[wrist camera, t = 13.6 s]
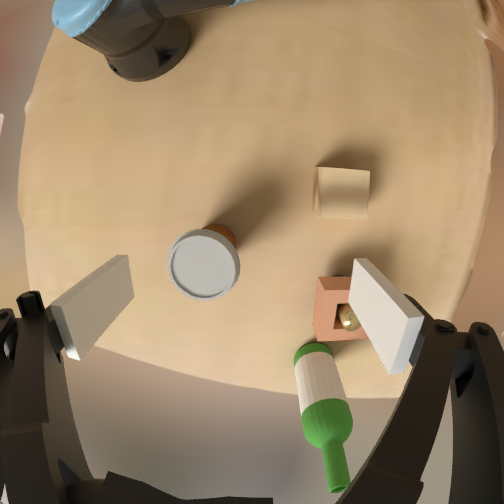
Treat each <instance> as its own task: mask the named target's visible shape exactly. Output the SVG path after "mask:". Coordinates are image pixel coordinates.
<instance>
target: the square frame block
mask: <svg viewBox="0 0 504 504" xmlns="http://www.w3.org/2000/svg"><path fill="white" fill-rule="evenodd" d="M351 279H352V277H318V283H317V293H316V302H315V310H314V319H313V327H314V331H315V334H316V337H317V341H337V340H353V339H366V338H369V337H368V336H367V334H366V332H365V330H364V329H363V327H362V325H361V327H360V328H359V329H357V330H356V331H353V332H349V331H346V330H345V329H344V327H343V325H342V322H341V320H340V318H339V316H338V314H337V313H336V309H337V304H340V303H348V299H349V292H350V286H351Z"/></svg>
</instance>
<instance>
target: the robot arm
mask: <svg viewBox="0 0 504 504" xmlns="http://www.w3.org/2000/svg"><path fill="white" fill-rule="evenodd" d="M254 1H258V0H56V1H55V4H54V7H53V10H52V20H53V23H54V24H55V26H56V27H57V28H59V29H60V30H62V31H63V32H65V33H66V35H67V36H69V37H72V38H74V39H76V40H78V41H80V42H82V43H84V44H86V45H87V46H89V47H91V48H93V49H95V50H97V51H99V52H100V53H102V54H104V56H105V58H106V60H107V62H108V64H109V66H110V68H111V69H112V71H113V72H114V73H116V74H117V75H118V76H120V77H122V78H124V79H126V80H129V81H134V82H141V81H147V80H151V79H154V78H156V77H159V76H161V75H163V74H164V73H166V72H168V71H169V70H170V69H172V68H173V67H174V66H175V65H176V64H177V63H178V62H179V61H180V60H181V59H182V57H183V56H184V54H185V53H186V51H187V49H188V47H189V44H190V39H191V32H190V28H189V26H188V24H187V22H186V20H185V19H184V18H183V16H182V15H186V14H190V13H194V12H199V11H203V10H208V9H213V8H218V7H224V6H229V7H231V6H235V5H237V4H241V3H247V2H254ZM133 298H134V291H133V286H132V280H131V273H130V267H129V260H128V255H116V256H115V257H113V258H112V259H111V260H109V261H108V262H106V263H105V264H103V265H102V266H101V267H99V268H98V269H96V270H95V271H94V272H92V273H91V274H89V275H88V276H87V277H85V278H84V279H82V280H81V281H80V282H78V283H77V284H76V285H74V286H73V287H72V288H70V289H69V290H68V291H66V292H65V293H64V294H62V295H61V296H60V297H59V298H57V299H56V300H55V301H53V302H52V303H51V304H50V306H48V307H47V308H46V309H45V308H44V305H43V302H42V298H41V295H40V292H39V291H29V292H26V293H23V294H21V295H20V296H19V297H18V298H17V299H16V301H17V304H18V307H19V310H20V313H21V315H22V318H15V315H14V313H13V310H12V309H10V308H7V309H1V310H0V501H1V497H2V494H3V489H4V484H5V485H6V492H7V497H8V502H9V504H273V498H248V497H230V496H228V497H219V498H210V499H194V500H183V499H179V498H176V497H174V496H172V495H170V494H167V493H165V492H163V491H161V490H159V489H156V488H154V487H152V486H150V485H148V484H146V483H144V482H142V481H138V480H134V479H131V478H128V477H125V476H121V475H118V474H115V473H113V472H110V471H108V473H107V475H106V478H105V479H94V477H93V476H92V474H91V472H90V470H89V468H88V465H87V462H86V460H85V456H84V453H83V450H82V447H81V444H80V441H79V437H78V433H77V429H76V426H75V422H74V418H73V413H72V409H71V404H70V399H69V395H68V389H67V383H66V377H65V370H64V363H63V357H62V355H61V352H60V351H61V350H62V349H63V347H65V350H66V352H67V355H68V357H69V358H73V359H77V360H81V359H82V358H83V357H84V356H85V354H86V353H87V352H88V351H89V349H90V348H91V347H92V346H93V345H94V343H95V342H96V341H97V340H98V338H99V337H100V336H101V335H102V334H103V333H104V331H105V330H106V329H107V328H108V327H109V325H110V324H111V323H112V322H113V321H114V320H115V318H116V317H117V316H118V315H119V314H120V313H121V312H122V310H123V309H124V308H125V307H126V306H127V305H128V304H129V302H130V301H131V300H132V299H133ZM348 303H349V304H350V306H351V308H352V309H353V311H354V313H355V315H356V316H357V318H358V320H359V322H360V323H361V325H362V327H363V329H364V330H365V332H366V334H367V336H368V337H369V339H370V341H371V343H372V345H373V346H374V348H375V350H376V352H377V354H378V356H379V357H380V359H381V361H382V363H383V365H384V367H385V369H386V371H387V372H388V374H389V375H394V374H399V373H404V372H405V370H406V367H407V365H408V362H410V364H411V365H412V367H413V368H412V370H411V373H410V375H409V377H408V380H407V382H406V384H405V386H404V389H403V392H402V394H401V396H400V398H399V401H398V403H397V405H396V407H395V409H394V411H393V413H392V415H391V417H390V419H389V421H388V423H387V425H386V427H385V429H384V430H383V433H382V434H381V436H380V438H379V440H378V441H377V443H376V445H375V446H374V448H373V450H372V451H371V453H370V455H369V456H368V458H367V459H366V461H365V463H364V464H363V466H362V467H361V469H360V470H359V472H358V473H357V475H356V476H355V478H354V479H353V480H352V482H351V483H350V485H349V486H348V487H347V489H346V490H345V492H344V493H343V494H342V496H341V497H340V498H339V499H338V501H337V502H336V503H335V504H416V503H417V501H418V499H419V497H420V495H421V492H422V489H423V484H424V483H423V482H421V481H420V479H421V476H422V473H423V471H424V468H425V466H426V463H427V461H428V458H429V455H430V453H431V450H432V447H433V444H434V441H435V438H436V435H437V432H438V429H439V425H440V422H441V418H442V415H443V411H444V406H445V403H446V399H447V394H448V389H449V385H450V390H451V401H452V416H453V465H452V478H451V489H450V496H449V503H448V504H504V351H503V349H502V346H501V344H500V342H499V339H498V337H497V335H496V333H495V331H494V330H493V328H492V327H490V326H489V325H488V324H486V323H481V322H474V323H472V325H471V327H470V329H469V332H468V333H467V332H457V329H456V327H455V326H454V325H453V324H451V323H450V322H448V321H445V320H440V319H435V320H434V319H433V318H432V317H431V316H430V315H429V314H428V313H427V311H426V310H425V309H423V307H422V306H421V305H419V303H418V302H417V301H416V300H415V299H414V298H412V297H410V296H408V295H406V294H403V293H402V292H401V291H400V290H399V289H398V288H397V287H396V286H395V285H394V284H393V283H392V282H391V281H390V280H389V279H387V278H386V277H385V276H384V275H383V274H382V273H381V272H380V271H379V270H378V269H377V268H376V267H375V266H374V265H373V264H372V263H371V262H370V261H369V260H368V259H367V258H354V264H353V272H352V279H351V286H350V292H349V299H348ZM4 348H5V350H6V352H7V354H8V355H7V356H6V354H5V351H4ZM0 504H3V503H2V502H0Z"/></svg>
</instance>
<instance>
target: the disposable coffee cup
mask: <svg viewBox="0 0 504 504" xmlns="http://www.w3.org/2000/svg"><path fill="white" fill-rule="evenodd" d="M167 264H168V272H169V276H170V278H171V280H172V282H173V284H174V285H175V287H176V288H177V289H178V290H179V291H180V292H181V293H183V294H184V295H186V296H188V297H190V298H192V299H196V300H202V301H208V300H214V299H216V298H219V297H221V296H223V295H225V294H227V293H228V292H229V291H230V290H231V289H232V288H233V287H234V286H235V284H236V282H237V280H238V277H239V275H240V260H239V256H238V253H237V251H236V247H235V239H234V236H233V234H232V233H231V231H230V230H229V229H227V228H226V227H224V226H222V225H218V224H213V225H209V226H207V227H204V228H202V229H196V230H191V231H188V232H186V233H184V234H182V235H181V236H180V237H178V238H177V239H176V240H175V241H174V242H173V244H172V246H171V248H170V250H169V253H168V260H167Z"/></svg>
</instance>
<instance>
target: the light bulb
mask: <svg viewBox="0 0 504 504" xmlns="http://www.w3.org/2000/svg"><path fill="white" fill-rule="evenodd" d="M333 277H345V276H333ZM336 313H337V314H338V316H339V318H340V320H341V322H342V325H343V327H344V329H345V330H346V331H349V332H353V331H356V330H357V329H359V328H360V327H361V323H360V322H359V320H358V318H357V316H356V315H355V313H354V311H353V309H352V308H351V306H350V304H349V303H340V304H337V309H336Z"/></svg>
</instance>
